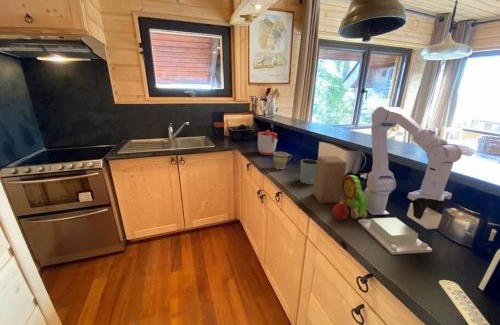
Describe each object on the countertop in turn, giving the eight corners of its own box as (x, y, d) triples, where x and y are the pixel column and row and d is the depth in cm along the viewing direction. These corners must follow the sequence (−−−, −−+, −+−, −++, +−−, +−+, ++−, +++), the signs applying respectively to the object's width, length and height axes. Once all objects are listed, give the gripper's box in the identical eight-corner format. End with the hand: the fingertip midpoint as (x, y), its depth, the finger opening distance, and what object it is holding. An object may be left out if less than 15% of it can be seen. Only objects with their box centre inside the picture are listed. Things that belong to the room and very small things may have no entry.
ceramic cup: (275, 170, 136) (276, 156, 133) (270, 165, 146) (271, 151, 143) (293, 170, 139) (295, 155, 136) (287, 165, 149) (289, 151, 146)
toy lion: (366, 220, 86) (375, 185, 81) (354, 220, 85) (361, 185, 80) (346, 201, 101) (352, 171, 96) (335, 201, 100) (340, 171, 95)
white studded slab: (358, 221, 84) (360, 212, 83) (390, 220, 86) (392, 211, 84) (392, 254, 67) (395, 244, 66) (431, 251, 69) (435, 241, 68)
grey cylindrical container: (312, 186, 115) (315, 165, 112) (295, 181, 121) (297, 161, 117) (319, 180, 123) (321, 161, 119) (302, 176, 129) (305, 157, 125)
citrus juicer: (269, 157, 164) (271, 132, 158) (253, 153, 175) (254, 129, 169) (281, 154, 175) (283, 130, 169) (264, 150, 186) (266, 127, 180)
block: (340, 203, 98) (348, 162, 92) (319, 203, 97) (325, 162, 91) (331, 193, 107) (337, 155, 101) (311, 193, 107) (317, 155, 101)
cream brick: (406, 215, 77) (410, 203, 75) (416, 215, 78) (420, 202, 76) (426, 228, 70) (431, 215, 68) (437, 228, 70) (442, 215, 69)
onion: (342, 215, 88) (346, 198, 85) (349, 223, 82) (353, 205, 80) (329, 215, 88) (332, 198, 85) (334, 223, 82) (338, 205, 80)
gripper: (426, 186, 64) (413, 225, 68) (467, 185, 66) (452, 223, 70) (407, 177, 71) (396, 213, 75) (444, 177, 73) (432, 211, 77)
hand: (422, 217), depth 73 cm, fingers closed on cream brick, 4 cm apart
